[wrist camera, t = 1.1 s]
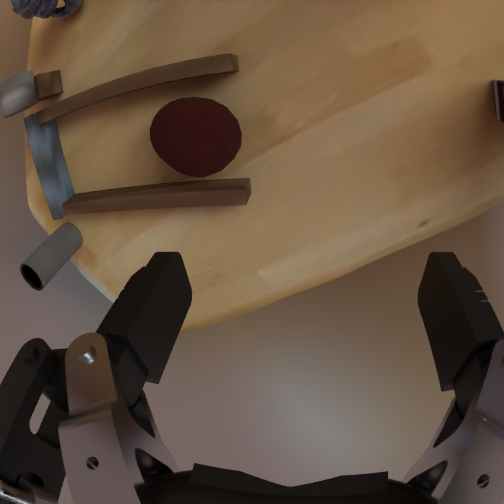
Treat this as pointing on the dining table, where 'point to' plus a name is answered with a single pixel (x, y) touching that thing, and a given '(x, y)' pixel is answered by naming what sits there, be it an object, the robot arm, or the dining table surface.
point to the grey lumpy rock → (45, 8)
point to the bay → (49, 84)
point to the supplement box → (499, 98)
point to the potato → (196, 136)
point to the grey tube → (51, 256)
